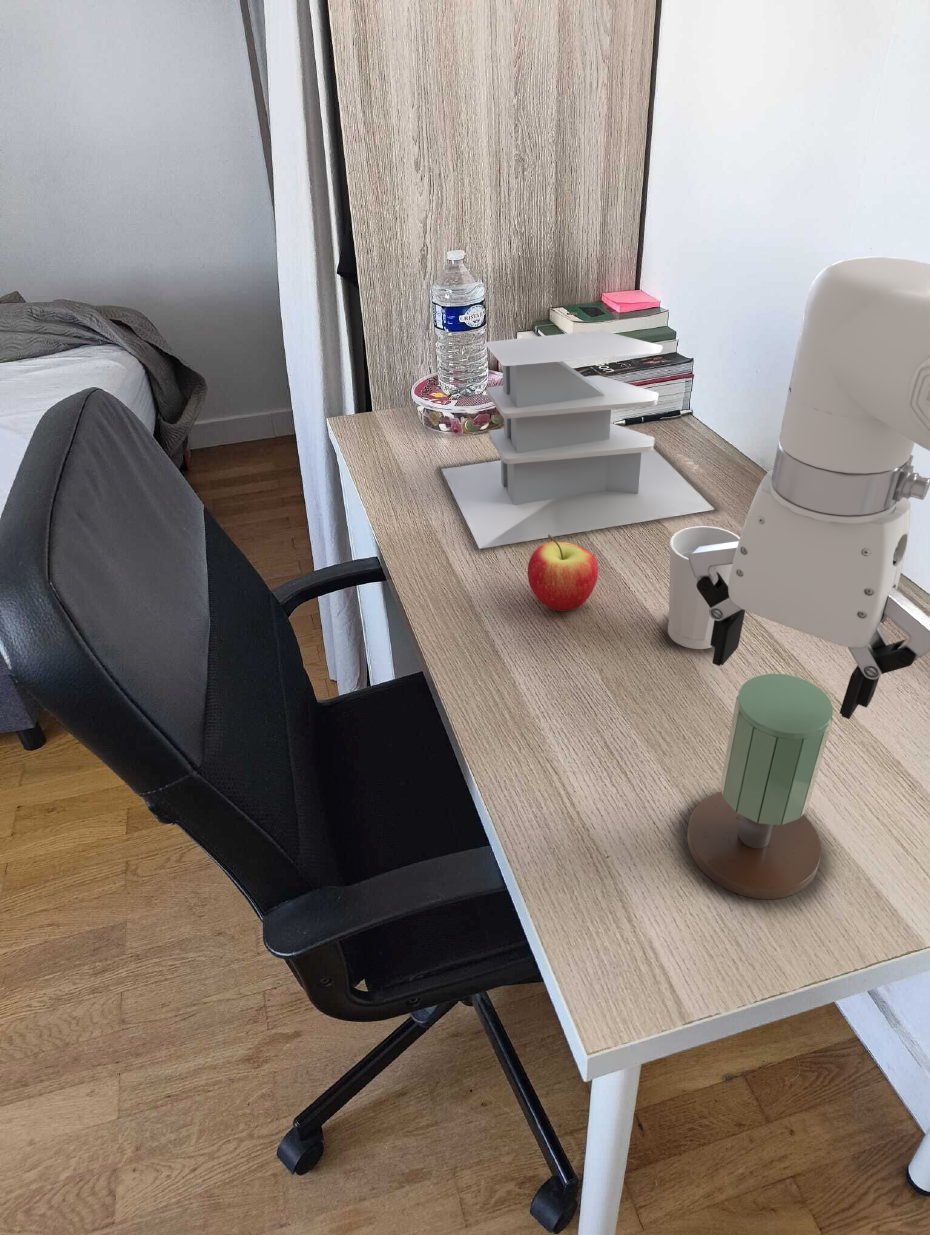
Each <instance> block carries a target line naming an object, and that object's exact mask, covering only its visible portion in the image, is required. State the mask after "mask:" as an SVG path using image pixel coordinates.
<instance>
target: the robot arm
mask: <svg viewBox="0 0 930 1235" xmlns="http://www.w3.org/2000/svg"><path fill="white" fill-rule="evenodd" d="M786 396H787V397H786V401H785V407H784V412H783V418H782V423H781V427H780V431H779V432H780V433H779V438H778V443H777V449H776V453H775V458H774V464H773V467H772V468H771V469H770V470H768V471H767V472H766V474H765V475H764V477H763V478H762V479H761V481H760V483H759V485H758V488H757V490H756V492H755V495H754V497H753V499H752V501H751V504H750V506H749V509H748V512H747V516H746V518H745V521H744V523H743V527H742V530H741V532H740V535H739V537H740V539H739V541H737V542H729V543H722V544H714V545H707V546H700V547H698V548H696V549H695V550H694V551H693V552H692V553H691V554H690V555H689V562H690V565H691V568H692V570H693V573H694V576H695V578H697V581H698V582H697V585H696V586H697V589H698V591H699V592H700V594H701V595H702V596H703V598H704V599H705V601H706V602H707V604H708V605H709V607H710V610H709V614H710V616H711V618H712V619H714V625H713V631H712V637H711V643H710V645H711V646H713V647H712V648H714V650H713V657H712V664H713V665H715V666H718V667H720V666H723V665H724V664H726V662H727V661H728V660H729V659H730V658H731V656H732V655H733V654H734V653H735V652H736V650H737V649H738V647H739V645H740V640H741V634H742V629H743V626H744V625H743V624H744V620H745V614H746V612H748V613H750V614H753V615H755V616H758V617H761V618H763V619H765V620H769V621H771V622H774V623H777V624H779V625H782V626H784V627H787V628H789V629H793V630H795V631H798V632H801V633H803V634H807V635H810V636H812V637H815V638H818V639H820V640H824V641H827V642H829V643H831V644H834V645H838V646H842V647H846V648H847V649H848V651H849V653H850V654H851V656H852V658H853V660H854V661H855V663H856V667H855V668H854V670H853V671H852V673H851V675H850V678H849V681H848V685H847V687H846V690H845V694H844V697H843V700H842V702H841V706H840V710H839V714H840V715H841V717H842V718H844V719H847V720H850V719H851V718H852V716H853V714H854V713H855V711H856V709H857V708H858V706H861V707H863V708H868V706H869V705H870V703H871V701H872V699H873V697H874V694H875V692H876V689H877V686H878V683H879V680H880V678H881V676H882V675H884V674H886V673H887V674H888V673H890V672H895V671H897V670H901V669H904V668H908V667H910V666H912V664H913V663H914V662H915V661H917V660H918V659H921V658H922V657H923V656H925V655H927V654H928V653H929V652H930V616H929V615H928V614H927V613H926V612H925V611H924V610H923V609H921V608H919V607H918V606H917V605H916V604H915V603H914V602H912V600H910V599H909V598H908V597H906V596H905V594H903V593H902V592H901V591H899V590H898V587H899V584H900V583H899V582H900V580H901V579H900V578H901V574H902V571H903V566H904V561H905V556H906V551H907V547H908V546H907V545H908V541H909V540H908V539H909V535H910V534H909V533H910V532H909V531H910V525H911V524H910V523H911V506H912V504H911V501H910V498H914V499H917V500H920V501H923V500H925V498H926V496H927V494H928V491H929V489H930V477H926V476H922V475H920V473H919V472H916V471H914V467H915V466H914V465H912V463H913V459H914V455H912V453H913V450H914V447H915V444H916V445H918V446H919V447H921V448H923V449H925V450H926V451H927V450H928V451H929V452H930V263H927V262H923V261H920V260H915V259H910V258H904V257H903V258H902V257H893V256H892V257H891V256H862V257H854V258H849V259H844V260H841V261H840V260H839V261H837V262H834V263H832V264H829V265H828V266H827V267H825V268H823V269H822V270H821V271H820V272H819V273H818V274H817V275H816V276H815V278H814V280H813V281H812V282H811V285H810V287H809V289H808V293H807V297H806V301H805V305H804V310H803V316H802V319H801V325H800V331H799V335H798V341H797V344H796V351H795V356H794V361H793V366H792V372H791V376H790V381H789V385H788V392H787V395H786ZM728 564H732V568H731V573H730V578H729V585H728V586H727V584H726V583H725V581H724V580H723V578H722V577H721V576H720V574H719V573H718V572H717V571H716V566H719V565H728ZM887 619H889V620H891V621H892V623H894V624H895V625H896V626H897V627H899V628H900V629H901V630H902V631H904V633H906V634H907V635H908V636H909V637H908V638H905V639H902V640H898V641H896V642H893V643H890V642H889V641H888V638H887V636H886V635H885V633H884V631H883V629H882V628H881V626H880V623H882V624H884V623H885V622H886V621H887Z"/></svg>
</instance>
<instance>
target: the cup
mask: <svg viewBox="0 0 930 1235" xmlns="http://www.w3.org/2000/svg"><path fill="white" fill-rule="evenodd" d="M739 539H740V535H738V534H736V533H734V532H732V531H730V530H727V529H725V528H721V527H717V526H711V525H710V526H708V525H697V526H689V527H685V528H682V529H680V530H678V531H676V532H675V533H674V534H672V536H671V537H670V540H669V588H668V589H669V590H668V592H669V593H668V623H667V624H668V625H667V634H668V637H670V639H671V640H672V641H673V642H674V643H676V644H678V645H679V646H682V647H684V648H686V649H687V648H688V649H691V650H692V649H693V650H706V649H707V650H708V649H711V648H714V647H713V646H711V645H710V643H711V637H712V631H713V625H714V619H712V618H711V616H710V614H709V610H710V607H709V605H708V604H707V602H706V601H705V599H704V598H703V596H702V595H701V594H700V592H699V591H698V589H697V586H696V585H697V582H698V581H697V578H695V576H694V573H693V570H692V568H691V565H690V562H689V555H690V554H691V553H692V552H693V551H694V550H695V549H696V548H698V547H700V546H707V545H714V544H722V543H729V542H737V541H739ZM731 568H732V564H728V565H719V566H716V571H717V572H718V573H719V574H720V576H721V577H722V578H723V580H724V581H725V583H726V584H727V586H728V585H729V578H730V573H731Z"/></svg>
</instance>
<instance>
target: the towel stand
mask: <svg viewBox="0 0 930 1235" xmlns="http://www.w3.org/2000/svg"><path fill="white" fill-rule="evenodd" d="M688 821H689V822H688V825H687V833H686V834H687V835H686V838H687V845H688V846H687V847H688V849H689V852H690V854H691V856H692V858H693V860H694V862H695V864H696V865H697V866H698V867H699V869H700V870H701V871H702V873H704V875H706V876H707V877H708V878H710V880H712V881H713V882H714V883H716V884H717V885H718V886H720V887H721V888H724V889H725V890H727V891H730V892H732V893H735V894H738V895H740V896H744V897H747V898H751V899H758V900H777V899H782V898H787V897H790V896H794V895H795V894H797V893H799V892H801V891H802V890H804V889H806V887H808V886H809V885H810V884H811V883H812V881H813V880H814V878H815V877H816V876H817V875H816V874H817V872H818V870H819V866H820V863H821V858H822V845H821V840H820V837H819V834H818V832H817V830H816V829H815V827H814V825H813V824H812V822H811V821H810V820H809V819H808V817H807V816H806V815H805V814H803V815H802V817H801V818H799V819H797V820H794V821H792V822H789V823H786V824H784V825H782V824H781V825H771V824H760V823H758V822H757V823H756V822H754V821H752V820H750V819H748V818H746V817H744V816H742V815H740V814H738V813H737V812H735V811H734V810H733V809H732V807H731V806H730V805H729V804H728V803H727V801H726V800H725V799H724V798H723V795H722V790H721V791H719V792H716V793H713V794H711V795H709V796H707V797H706V798H704V799H702V800H701V801H700V802H699V803H698V804H697V805H696V806H695V808H694V809H693V811H692V813H691V815H690V817H689V820H688Z"/></svg>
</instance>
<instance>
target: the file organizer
mask: <svg viewBox="0 0 930 1235" xmlns="http://www.w3.org/2000/svg"><path fill="white" fill-rule="evenodd" d="M484 345H485V346H486V347H487V349H488V350H489V351H490V352H491V354H492V355H493V356H494V358H496V360H497V361H498V363H500V365H501V366H502V368H501V369H502V385H495V386H493V385H492V386H488V387H486V395H487V396H488V398H489V399H490V401H491V402H492V404H493V405H494V406H495V408H496V410H497V411H498V412H499V414H500V415H501V417H502V418H503V428H497V429H490V430H488V432H487V433H488V434H487V435H488V436H487V437H488V440H489V441H490V442H491V444H492V446H493V447H494V449H495V450H496V452H497V453H498V455H499V457H500V460H494V461H488V462H481V463H480V462H479V463H474V464H467V465H461V466H454V467H448V468H441V472H442V474H443V477H444V478H445V480H446V483H447V484H448V487H449V489H450V490H451V492H452V495H453V497H454V499H455V501H456V504H457V505H458V507H459V509H460V512H461V513H462V516H463V517H464V520H465V523H466V524H467V526H468V528H469V531H470V532H471V534H472V537H473V538H474V541H475V542H476V546H477V547H478V548H479V550H482V549H488V548H493V547H501V546H504V545H505V546H507V545H511V544H516V543H517V544H518V543H523V542H529V541H537V540H542V539H547V538H549V537H548V535H551V536H552V537H553V538H554V537H559V536H564V535H571V534H577V533H582V532H583V533H584V532H589V531H596V530H600V529H602V530H603V529H606V528H614V527H619V526H626V525H632V524H637V523H644V522H648V521H649V522H650V521H654V520H655V521H656V520H662V519H667V518H674V517H679V516H685V515H692V514H698V513H702V512H709V511H710V512H711V511H715V510H716V509H715V508H714V507H713V506H712V505H711V504H710V503H709V502H708V501H707V500H706V499H705V498H704V497H703V496H702V495H701V494H700V493H699V492H698V491H697V490H696V489H695V488H694V487H693V486H692V485H691V484H690V483H689V482H688V481H687V480H686V479H685V478H684V477H683V476H682V475H681V474H680V473H679V472H678V471H677V470H676V469H675V468H674V467H673V466H672V465H671V464H670V463H669V462H668V461H667V460H666V459H665V458H664V457H663V456H662V455H661V454H660V453H659V452H658V451H657V449H655V448H654V446H655V441H656V440H655V439H656V438H655V437H654V436H651V435H648V434H645V433H642V432H639V431H637V430H633V429H630V428H627V427H624V426H621V425H618V424H615V423H612V422H611V419H612V418H611V416H612V410H623V409H634V408H644V407H645V408H646V407H654V406H657V404H658V401H659V392H657V391H654V390H650V389H647V388H644V387H640V386H638V385H633V384H630V383H627V382H624V381H620V380H616V379H613V378H609V377H606V376H603V375H599V374H598V375H587V376H584V375H583V374H581V373H580V372H578V371H577V370H576V369H574V368H573V367H571V366H570V365H569V364H567V363H566V362H570V361H583V360H593V359H606V358H617V357H629V356H630V357H631V356H641V355H652V354H653V355H655V354H660V353H662V351H663V348H664V347H663V345H661V344H658V343H653V342H649V341H645V340H641V339H638V338H634V337H629V336H625V335H621V334H617V333H615V332H614V333H613V332H610V331H606V330H599V329H598V330H590V331H588V330H587V331H580V332H569V333H561V334H559V333H558V334H551V335H550V334H549V335H541V336H540V335H539V336H531V337H521V338H512V339H511V338H510V339H502V340H491V341H490V340H489V341H486V342H484Z"/></svg>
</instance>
